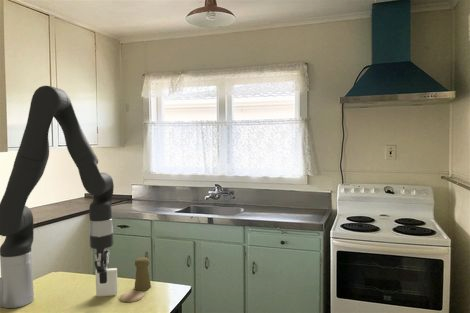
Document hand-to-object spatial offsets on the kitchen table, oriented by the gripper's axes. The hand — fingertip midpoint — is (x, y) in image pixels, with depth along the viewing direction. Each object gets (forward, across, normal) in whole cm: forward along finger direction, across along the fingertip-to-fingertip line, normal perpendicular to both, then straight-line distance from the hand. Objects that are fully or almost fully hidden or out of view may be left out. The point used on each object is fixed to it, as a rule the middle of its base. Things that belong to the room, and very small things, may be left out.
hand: (103, 282), depth 126 cm
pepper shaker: (+7, -10, +12) cm, 17 cm away
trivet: (+7, -2, +9) cm, 11 cm away
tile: (+7, -6, 0) cm, 9 cm away
